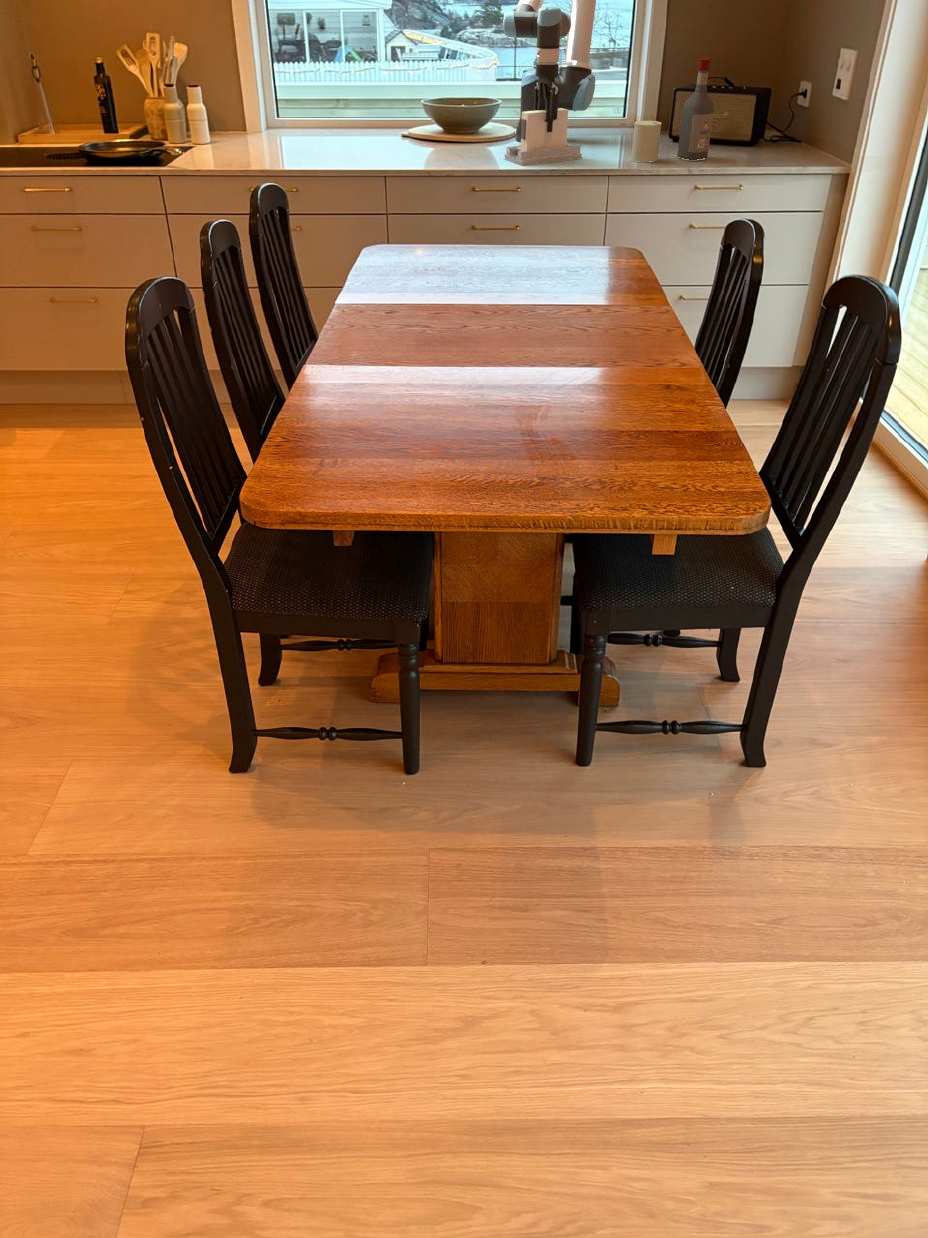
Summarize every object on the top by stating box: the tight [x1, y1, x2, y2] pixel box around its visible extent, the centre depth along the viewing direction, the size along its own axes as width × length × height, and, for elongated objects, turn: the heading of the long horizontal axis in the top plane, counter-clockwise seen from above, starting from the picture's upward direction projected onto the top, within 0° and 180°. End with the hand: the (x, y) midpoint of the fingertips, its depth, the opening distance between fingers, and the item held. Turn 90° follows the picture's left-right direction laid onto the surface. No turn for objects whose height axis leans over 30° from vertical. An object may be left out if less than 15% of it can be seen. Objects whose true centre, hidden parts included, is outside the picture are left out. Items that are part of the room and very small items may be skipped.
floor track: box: [504, 141, 583, 166], centre depth 326 cm, size 24×12×4 cm, turn 118°
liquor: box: [677, 57, 715, 160], centre depth 319 cm, size 9×9×30 cm
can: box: [630, 120, 662, 163], centre depth 322 cm, size 9×9×12 cm
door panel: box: [520, 108, 569, 151], centre depth 322 cm, size 17×4×12 cm, turn 118°
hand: (544, 140), depth 324 cm, fingers closed on door panel, 4 cm apart
